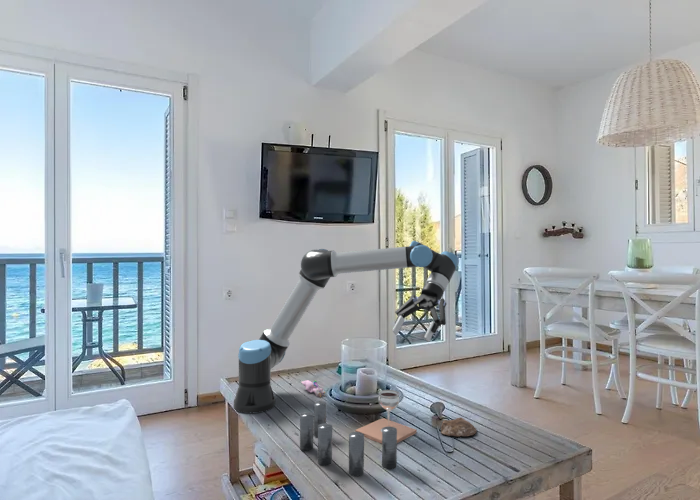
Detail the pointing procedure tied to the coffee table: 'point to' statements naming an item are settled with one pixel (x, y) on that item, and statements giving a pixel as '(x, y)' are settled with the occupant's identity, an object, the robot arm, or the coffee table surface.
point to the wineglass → (388, 401)
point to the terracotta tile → (375, 427)
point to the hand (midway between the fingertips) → (409, 336)
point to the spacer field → (318, 428)
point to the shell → (458, 428)
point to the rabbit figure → (313, 387)
